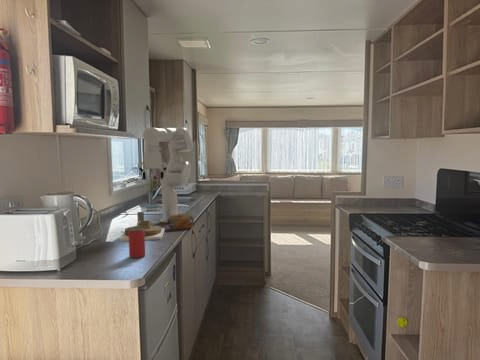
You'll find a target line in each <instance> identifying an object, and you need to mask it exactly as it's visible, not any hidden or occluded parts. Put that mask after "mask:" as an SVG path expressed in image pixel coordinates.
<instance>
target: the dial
mask: <svg viewBox="0 0 480 360" xmlns="http://www.w3.org/2000/svg"><path fill="white" fill-rule="evenodd" d="M132 228H143V230H144V233H145V236H149V235H154V234H158V233H160V232H161V228H162V227H161V226H160V225H154V224H153V220H144V221H139V222H138V221H137V223H136V225H133V226H130V227H126V228H125V229H124V232H125V235H128V236H129V232H130V229H132Z"/></svg>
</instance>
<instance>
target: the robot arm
mask: <svg viewBox="0 0 480 360" xmlns="http://www.w3.org/2000/svg"><path fill="white" fill-rule="evenodd" d="M142 138H143V140H144V141H145V151H144V153H143V161H142V162H140V163H139V164H137V168H138V170H139V171H140V172H142V179H143V180H146V179H147V176H146V171H147V170H159V171H160V177H159V182H160V187H161V197H162V198H161V201H162V218H161V219H160V222H161V223H165V224H168V219H169V217H170V216H172V215H179V214H178V213H179V212H178V194H177V190H176V189H175V188H184V187H186V186H187V185H188V182H189V178H190V176H191V170H192V167H191V163H190V162H189V161H184V159H183V157H182V154H180V153H181V152H191V151H193V149H194V143H193V139H192V137H191V134H190V132H189V130H188V129H187V128H185V127H160V128H157V127H147V128H145V129H144V130H143V132H142ZM160 142H168V151H169V157H170V158H169V161H168V163H166V162H164V161H163V159H162V153H161V150H162V149H163V148H162V146H161V147H160ZM141 166H143V168H142V167H141ZM163 166H164V168H163Z"/></svg>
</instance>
